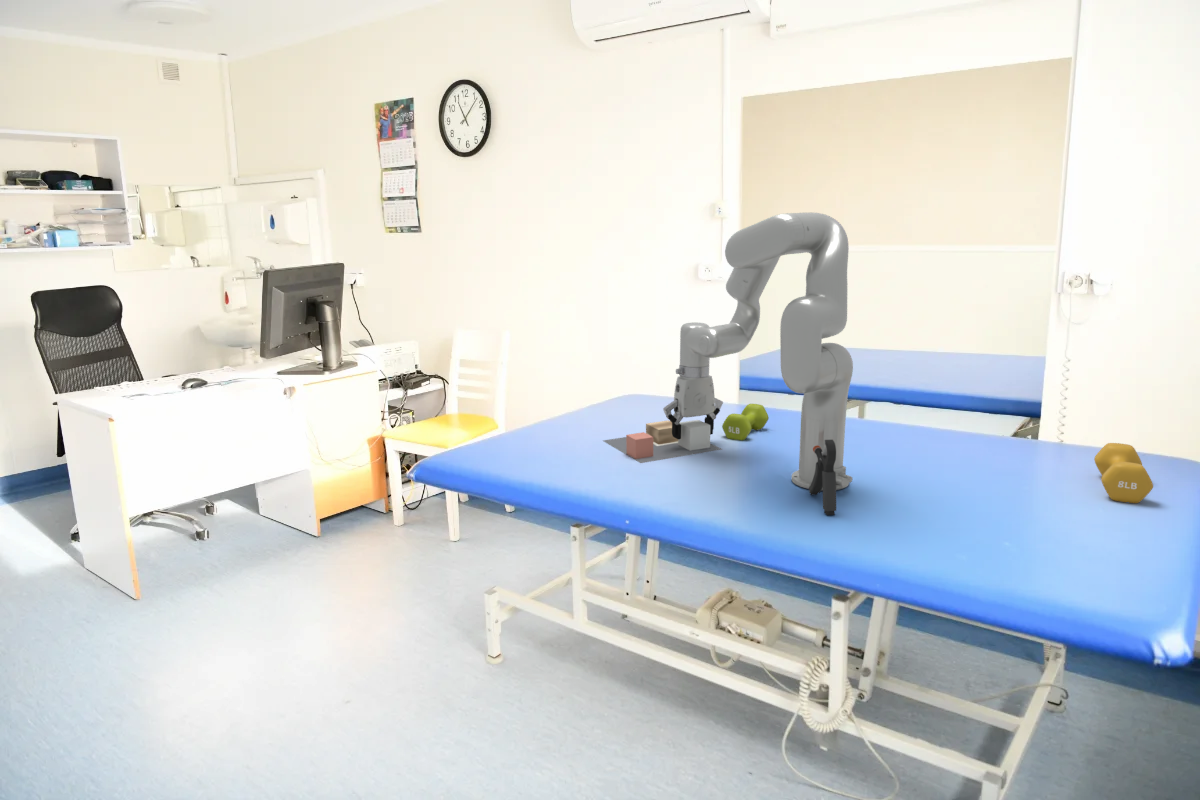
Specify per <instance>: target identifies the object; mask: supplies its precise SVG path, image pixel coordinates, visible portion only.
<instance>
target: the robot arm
mask: <svg viewBox="0 0 1200 800" xmlns="http://www.w3.org/2000/svg"><path fill="white" fill-rule="evenodd" d="M847 234H848V233H847V232H846V230H845V228H844V227H843V225H842V224H841V223H840V222H839V221H838V220H836V218H833V217H832V216H830V215H827V214H824V213H820V212H790V213H789V212H787V213H779V214H776V215H772V216H770V217H768V218H766V219H763V220H760V221H759V222H757V223H754V224H751V225H748V226H747V227H744V228H742V229H740V230H738V231H736V232H734V233H733V234H731V236H730V238H729V239H728V241H727V242H726V244H725V245H726V246H725V250H724V255H725V260H726V261H727V263H728V265H729V266H731V267H732V268H733V269H732V270H731V273H730V275H729V277H728V279H727V281H726V284H725V289H726V290H725V291H726V292H727V294H729V296H730V297H732V298H733V299H734V300H736V301H737V306H736V309H735V311H734V313H733V316H732V317H731V320H730V322H729V323H725V324H719V325H715V326H709V324H707V323H704V322H686V323H683V324H682V326H681V327H680V333H679V335H680V336H679V337H680V338H679V339H680V341H679V343H680V344H679V367H678V368H676V369H675V374H677V375H679V376H677V378H676V380H675V381H676V382H675V387H674V395H673V401H671V402H670V403H668V404H667V405H665V406H664V407H663V408H662V410H663V413H664V414H665V416H666V418H667V420H669V421H670V422H672V435H673V437H674V438H676V439H681V424H679V423H680V422H682V420H683V419H684V418H693V417H700V416H704V421H703V422H704V423H707V424H709V425H710V436H711V435H714V434H713V433H714V429H715V427H714V424H715V420H716V418H717V415H718V414H719V413H720V412H721V409H722V406H723V404H724V402H723V401H722V400H721V399H719V398H716V397H715V386H714V381H713V376H712V375H710V361H711V360H710V359H714V358H715V359H717V358H719V357H724V356H728V355H732V354H733V355H734V354H738V353H740V352H742V351H743V350H745V348H746V347H747V346H748V345H749V343H750V342H751V341H752V339H753V336H754V334H755V333H756V331H757V329H758V327H759V326H758V325H759V323H760V320H761V319H760V318H761V305H760V298H761V296H762V294H763V292H764V290H765V288H766V286H767V284H768V283H769V280H770V279H771V276H772V274H773V272H774V271H775V268H776V266H777V264H778V262H779V260H780V258H781V256H787V255H795V254H803V253H807V254H810V255H811V257H810V260H809V262H808V265H807V268H806V275H805V285H806V286H805V295H804V296H803V295H802V296H799V297H797V298H794V299H792V300H791V301H790V302H789V303H787V305H786V306H785V308H784V310H783V311H782V314H781V315H782V316H781V319H780V327H779V328H780V329H779V331H780V334H779V335H780V339H779V340H780V371H781V376H782V377H781V378H782V380H783V382H784V384H785V386H786V387H787V388H788V389H789V390H791V391H792V392H794V393H797V394H803V397H802V401H801V414H800V435H799V436H800V437H799V454H798V455H799V456H798V460H799V461H798V469H797V470H795V471H794V472H792V474H791V481H792V483H793V484H794V485H796V486H798V487H801V488H804V489H808V490H809V487H810V485H811V483H812V480H813V477H814V474H815V468H816V463H817V462H818V458H817V455H816V454H815V453H814V451H813V447H814V446H817V445H818V446H820V447H821V449H822V451H823V449H824V447H825V440H833V441H834V443H835V446H836V460H835V463H834V471H835V472H836V491H839V490H842V489H845V488H847V487H849V485H850V483H852V481H853V477H852V476H851V475H848V474H846V473H847V472H846V471H847V467H846V466H845V465H844V457H845V456H844V453H845V439H846V438H845V433H846V417H847V403H848V396H849V390H850V385H851V381H852V377H853V370H854V362H853V358H852V355H851V353H850V352H849V351H848V349H847V348H846V347H844V346H843V345H841V344H838V343H836V342H825V343H823V342H822V339H827V338H830V337H835V336H837V335H839V334H840V333H842V332H843V331H844V330H845V328H846V325H847V321H848V266H849V265H848V264H849V238H848V235H847ZM672 410H673V412H674V413H672ZM826 455H827V454H826ZM821 492H823V488H822V490H821Z"/></svg>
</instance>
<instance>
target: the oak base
mask: <svg viewBox="0 0 1200 800" xmlns="http://www.w3.org/2000/svg"><path fill="white" fill-rule="evenodd" d="M645 433H646V434H648V435H650V436H652V437H653V442H655V443H657V444H665V443H671V442H677V441H678V439H676V438H674V437H673V435H672V422H670V420H669V419H667V420H661V421H654V422H649V423H648V422H647V423H645Z"/></svg>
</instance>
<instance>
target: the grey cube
mask: <svg viewBox="0 0 1200 800" xmlns="http://www.w3.org/2000/svg"><path fill="white" fill-rule="evenodd" d="M704 422H705V421H702V420H699V419H694V420H688V421H680V423H679V424H681V439H678V445H680V446H682V447H684V448H686V449H688V450H690V451H691V450H697V449H703V448H709V447H710V443H711V435H710V425H709V424H707V423H704Z"/></svg>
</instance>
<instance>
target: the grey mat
mask: <svg viewBox="0 0 1200 800" xmlns="http://www.w3.org/2000/svg"><path fill="white" fill-rule="evenodd" d="M602 441H603V442H604V443H605V444H607V445H608V446H611V447H612V448H614V449H616V450H617V451H619V452H621V453H622V454H624V455H626V456H628V457H629V458H631V459H632V460H634V461H636V462H638V463H639V464H643V463H649V462H650V463H651V462H655V461H663V460H668V459H675V458H681V457H686V456H692V455H697V454H703V453H709V452H714V451H721V450H722V451H723V448H721V447H719V446H717V445H715V444H712V443H711V442H710V447H709V448H703V449H697V450H691V451H690V450H688V449H686V448H684V447H682V446H680V445H678V441H677V442H671V443H665V444H657V443H655V442H653V456H651V457H645V458H639V459H635V458H633V457H631V456H630V455H628V454H627V445H626V436H624V437H623V436H622V437H618V438H617V437H616V438H611V439H610V438H609V439H604V440H602Z"/></svg>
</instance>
